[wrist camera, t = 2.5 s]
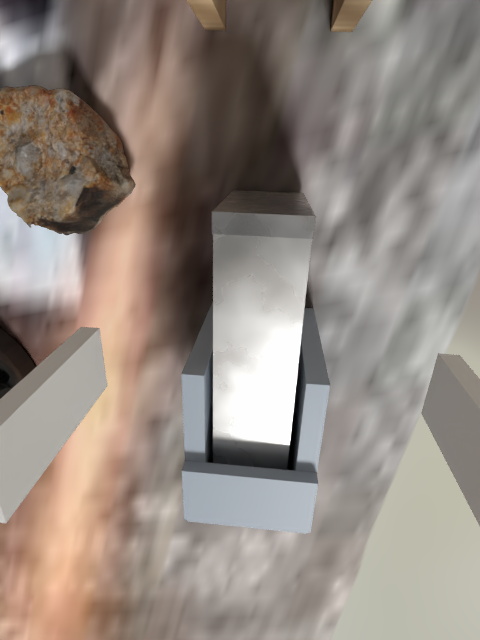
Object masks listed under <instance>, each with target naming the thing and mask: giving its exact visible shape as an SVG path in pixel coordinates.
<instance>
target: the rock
mask: <svg viewBox="0 0 480 640" xmlns="http://www.w3.org/2000/svg"><path fill="white" fill-rule="evenodd" d="M0 187H1V188H2V190H3V191H4V192H5V193H6V194H7V195H8V199H7V201H8V204H9V207H10V208H11V209H12V211H14V212H15V213H17V215H18V216H19V217H21V218H22V219H23V220H24V222H26V223H27V224H28V226H29V227H31V224H34V225H39V226H41V227H45V228H47V229H49V230H53V231H55V232H57V233H59V234H62V233H63V234H64V235H69V234H72V233H78V234H84V233H87V232H89V231H91V230H93V229H95V228H96V227H97V226H98V224H99V223H100V222H101V221H102V220H103V217H104V215H106V214H107V213H108V212H109V211H110V210H111V209H113V208H114V207H116V206H118V205H119V204H120V203H121V202H122V201H123V200H124V199H125V198H126V197H127V196H128V195H129V194H131V193H132V191H133V189H134V187H135V182H134V180H133V179H132V178H131V176H130V173H129V170H128V163H127V159H126V157H125V156H124V151H123V145H122V142H121V140H120V138H119V137H118V136H117V135H116V134H115V133H114V132H113V131H112V130H111V129H110V127H109V126H108V125H107V123H106V122H105V121H104V120H103V119H102V118H101V117H100V116H99V115H98V114H97V113H96V112H95V111H94V110H93V109H92V108H91V107H90V106H89V105H88V104H87V103H85V102H84V101H83V100H81V99H80V98H79V97H78V96H76V95H75V94H74V93H73V92H71V91H69V90H66V89H61V88H59V89H54V90H49V91H48V90H47V89H45V88H43V87H41V86H33V85H32V86H29V87H24V86H23V87H17V88H13V87H4V88H2V89H1V90H0Z"/></svg>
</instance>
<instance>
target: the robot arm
mask: <svg viewBox="0 0 480 640" xmlns="http://www.w3.org/2000/svg"><path fill="white" fill-rule="evenodd" d="M106 387H107V380H106V372H105V365H104V358H103V350H102V343H101V336H100V329H99V328H88V327H81V328H79V329H78V330H77V331H76V332H75V333H74V334H73V335H72V336H70V337H69V338H68V339H67V340H66V341H65V342H64V343H63V344H61V345H60V346H59V347H58V348H57V349H56V350H55V351H54V352H53V353H51V354H50V355H49V356H48V357H47V358H46V359H45V360H44V361H42V362H41V363H40V364H39V365H38V366H37V367H35V365H34V364H33V362H32V360H31V359H30V357H29V356H28V355H27V353H26V352H25V351H24V350H23V348H22V347H21V346H20V345H19V344H18V343H17V342H16V341H15V340H14V339H13V338H12V337H11V336H10V335H8V334H7V333H6V332H5V331H3V330H2V329H1V328H0V523H7V521H8V520H9V519H10V517H11V516H12V515H13V513H14V512H15V511H16V509H17V508H18V506H19V505H20V504H21V502H22V501H23V500H24V498H25V497H26V496H27V494H28V493H29V492H30V490H31V489H32V487H33V486H34V485H35V483H36V482H37V481H38V479H39V478H40V477H41V475H42V474H43V473H44V471H45V470H46V468H47V467H48V466H49V464H50V463H51V462H52V460H53V459H54V458H55V456H56V455H57V453H58V452H59V451H60V449H61V448H62V447H63V445H64V444H65V443H66V441H67V440H68V439H69V437H70V436H71V434H72V433H73V432H74V430H75V429H76V428H77V426H78V425H79V424H80V422H81V421H82V420H83V418H84V417H85V415H86V414H87V413H88V411H89V410H90V409H91V407H92V406H93V405H94V403H95V402H96V401H97V399H98V398H99V396H100V395H101V394H102V392H103V391H104V390H105V388H106ZM422 415H423V417H424V419H425V421H426V423H427V425H428V427H429V429H430V431H431V433H432V434H433V437H434V438H435V440H436V442H437V444H438V446H439V448H440V450H441V452H442V454H443V456H444V458H445V459H446V462H447V464H448V465H449V467H450V469H451V471H452V473H453V475H454V477H455V479H456V481H457V483H458V485H459V487H460V489H461V490H462V492H463V494H464V496H465V498H466V500H467V502H468V504H469V506H470V508H471V510H472V512H473V514H474V516H475V517H476V520H477V521H478V523H479V525H480V379H479V378H478V376H477V375H476V374H475V373H474V372H473V371H472V370H471V368H470V367H469V366H468V365H467V363H466V362H465V361H464V360H463V359H462V357H461V356H460V355H450V354H438V356H437V360H436V363H435V367H434V370H433V374H432V378H431V381H430V385H429V388H428V392H427V395H426V399H425V402H424V406H423V409H422Z"/></svg>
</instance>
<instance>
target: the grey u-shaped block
mask: <svg viewBox="0 0 480 640" xmlns="http://www.w3.org/2000/svg"><path fill="white" fill-rule="evenodd" d="M329 389H330V383H329V378H328V373H327V369H326V364H325V360H324V355H323V350H322V346H321V341H320V336H319V332H318V327H317V322H316V318H315V313H314V309H313V308H304V317H303V326H302V335H301V345H300V354H299V363H298V372H297V381H296V391H295V400H294V409H293V418H292V427H291V437H290V446H289V455H288V464H287V470H281V469H271V468H260V467H249V466H238V465H227V464H217V463H213V302H212V304H211V306H210V308H209V311H208V313H207V316H206V318H205V320H204V323H203V325H202V327H201V330H200V332H199V334H198V337H197V339H196V341H195V344H194V346H193V348H192V351H191V353H190V355H189V358H188V360H187V362H186V365H185V367H184V369H183V372H182V399H183V424H184V449H185V462H184V465H183V469H182V485H183V507H184V519H185V520H187V521H190V522H199V523H209V524H218V525H228V526H238V527H247V528H257V529H266V530H276V531H286V532H295V533H305V534H307V533H308V532H311V525H312V519H313V513H314V506H315V500H316V494H317V487H318V479H317V468H318V461H319V455H320V448H321V442H322V435H323V429H324V422H325V416H326V409H327V402H328V396H329Z"/></svg>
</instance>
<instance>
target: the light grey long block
mask: <svg viewBox="0 0 480 640" xmlns="http://www.w3.org/2000/svg"><path fill="white" fill-rule="evenodd" d="M315 218H316V216H315V214H314V212H313V210H312V208H311V206H310V205H309V203H308V201H307V199H306V197H305V195H304V193H287V192H263V191H238V190H233V191H232V192H231V193H230V194H229V195H228V196H227V197H226V198H225V199H224V200H223V201H222V202H221V203H220V204H219V205H218V206H217V207H216V208H215V209H214V210H213V211H212V234H213V463H217V464H227V465H238V466H249V467H260V468H271V469H281V470H287V464H288V455H289V446H290V437H291V427H292V418H293V409H294V400H295V391H296V381H297V372H298V363H299V354H300V345H301V335H302V326H303V317H304V308H305V299H306V289H307V280H308V271H309V262H310V252H311V243H312V239H313V236H314V227H315Z"/></svg>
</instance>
